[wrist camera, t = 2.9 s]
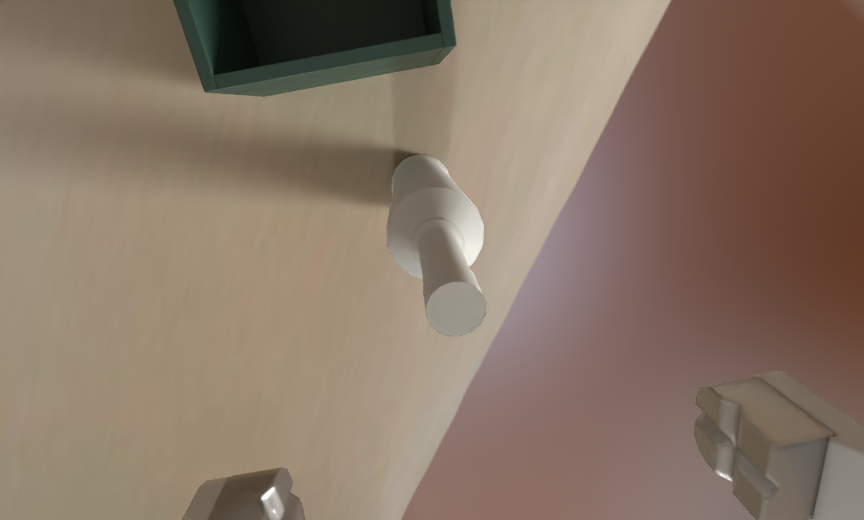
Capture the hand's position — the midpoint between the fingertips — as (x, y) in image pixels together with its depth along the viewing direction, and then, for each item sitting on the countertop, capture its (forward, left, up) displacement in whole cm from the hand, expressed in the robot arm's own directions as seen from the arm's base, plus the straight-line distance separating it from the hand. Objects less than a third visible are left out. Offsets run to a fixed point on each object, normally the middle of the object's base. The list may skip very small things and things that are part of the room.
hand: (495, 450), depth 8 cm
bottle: (0, 0, -31) cm, 31 cm away
